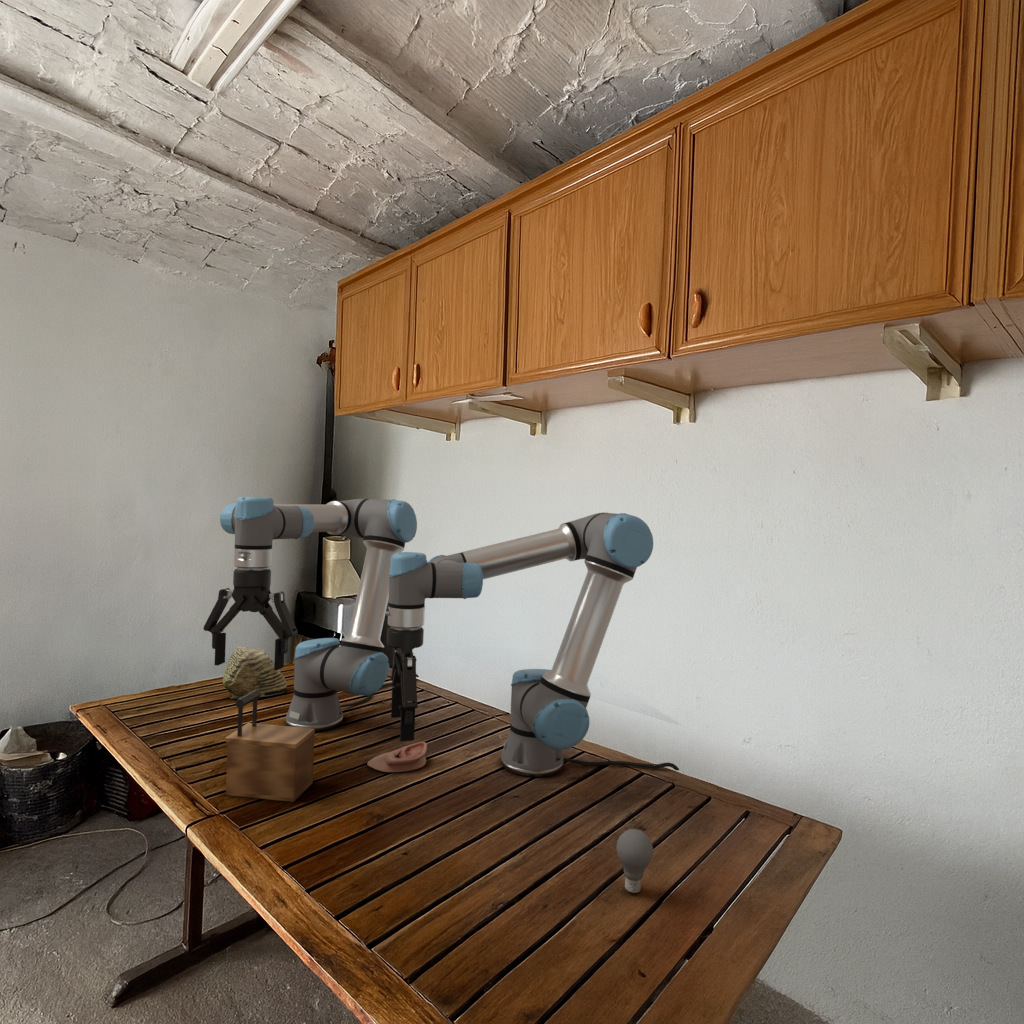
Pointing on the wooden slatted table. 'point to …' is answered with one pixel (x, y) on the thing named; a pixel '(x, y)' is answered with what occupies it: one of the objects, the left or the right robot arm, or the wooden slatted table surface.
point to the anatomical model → (401, 759)
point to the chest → (269, 770)
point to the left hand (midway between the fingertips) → (249, 666)
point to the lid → (265, 729)
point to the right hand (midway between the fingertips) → (401, 728)
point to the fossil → (252, 674)
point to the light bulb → (634, 857)
